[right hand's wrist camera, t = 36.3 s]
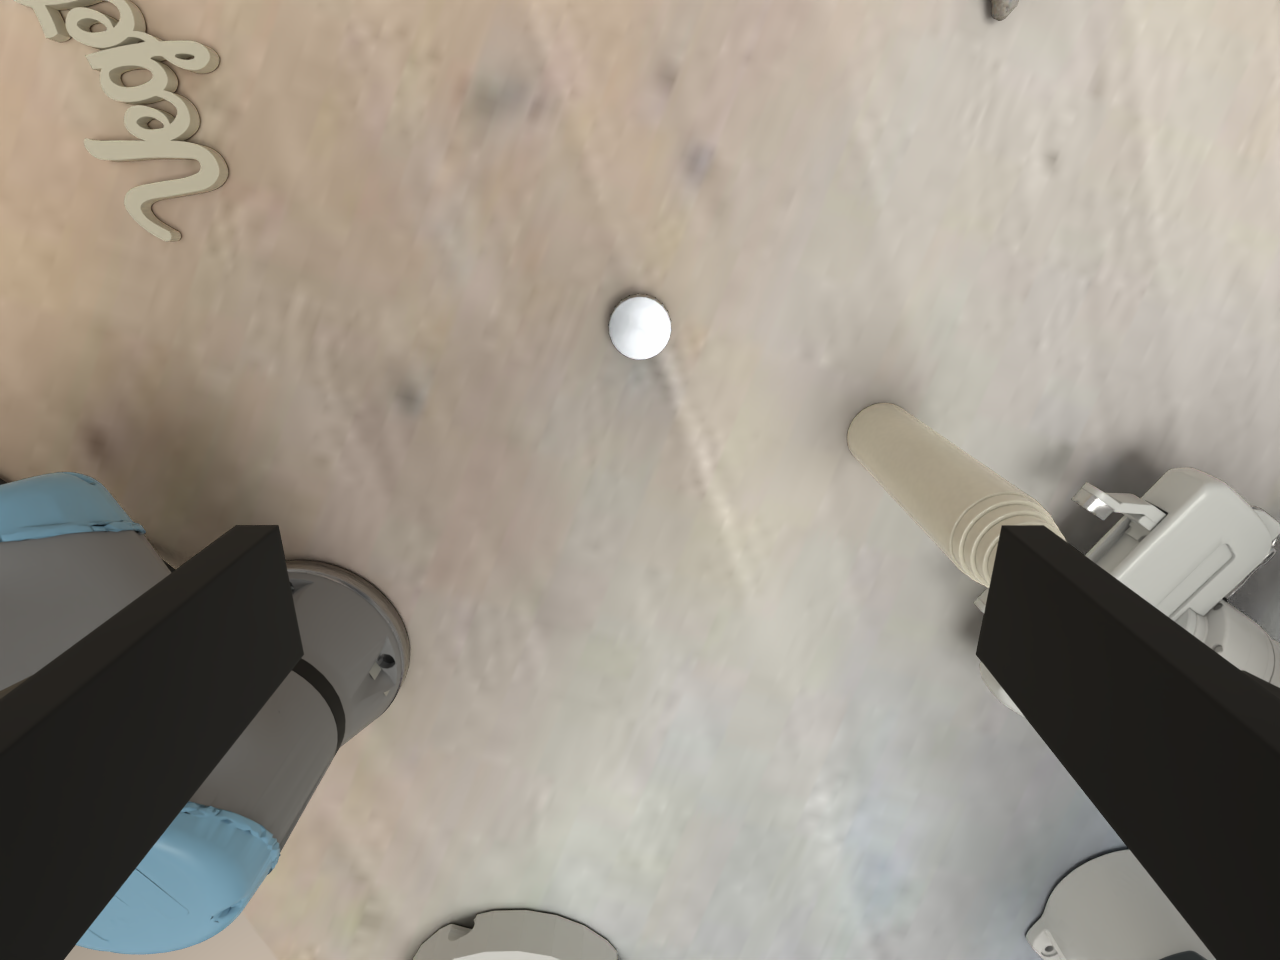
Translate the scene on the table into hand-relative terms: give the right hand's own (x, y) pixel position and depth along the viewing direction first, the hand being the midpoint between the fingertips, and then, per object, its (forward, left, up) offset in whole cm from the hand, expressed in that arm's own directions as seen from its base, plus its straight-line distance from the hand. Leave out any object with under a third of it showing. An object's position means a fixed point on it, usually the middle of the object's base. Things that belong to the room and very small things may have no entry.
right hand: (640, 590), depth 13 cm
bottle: (+18, +6, -37) cm, 41 cm away
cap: (0, 0, -35) cm, 35 cm away
